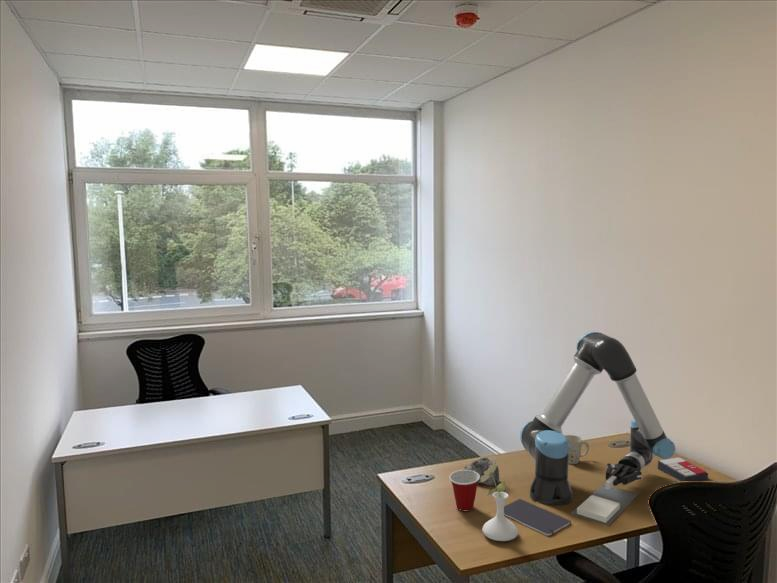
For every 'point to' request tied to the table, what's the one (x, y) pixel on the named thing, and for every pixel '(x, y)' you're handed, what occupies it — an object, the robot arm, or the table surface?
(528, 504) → the notebook
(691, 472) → the calculator
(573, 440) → the mug
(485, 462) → the mineral rock
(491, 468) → the flower in vase
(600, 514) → the tile
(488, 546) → the table surface
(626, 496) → the mat
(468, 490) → the plastic cup
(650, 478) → the table surface
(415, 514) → the table surface
